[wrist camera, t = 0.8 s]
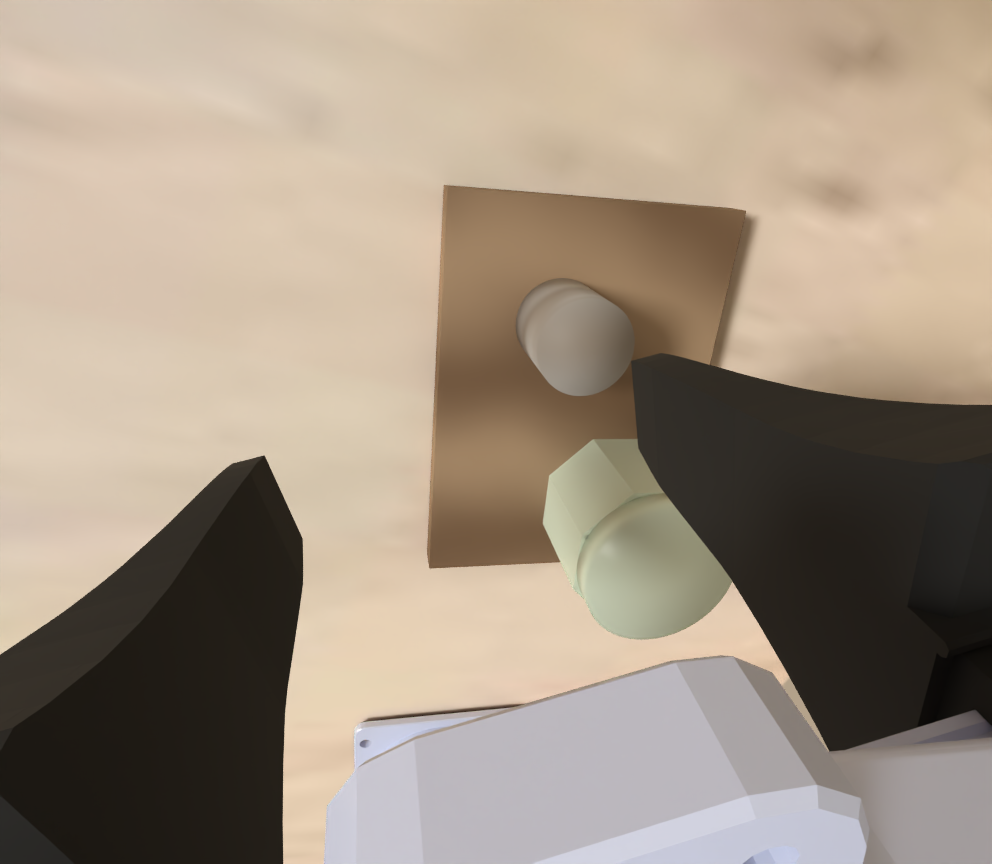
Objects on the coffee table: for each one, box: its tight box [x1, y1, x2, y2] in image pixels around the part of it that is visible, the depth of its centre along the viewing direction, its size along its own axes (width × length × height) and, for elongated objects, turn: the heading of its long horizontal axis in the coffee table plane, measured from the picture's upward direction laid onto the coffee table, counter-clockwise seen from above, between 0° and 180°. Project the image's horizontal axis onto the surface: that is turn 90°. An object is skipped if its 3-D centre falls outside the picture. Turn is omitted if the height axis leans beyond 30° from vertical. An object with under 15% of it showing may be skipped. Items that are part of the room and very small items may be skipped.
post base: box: [427, 185, 746, 568], centre depth 21 cm, size 14×10×4 cm
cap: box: [543, 439, 732, 639], centre depth 22 cm, size 5×5×5 cm
